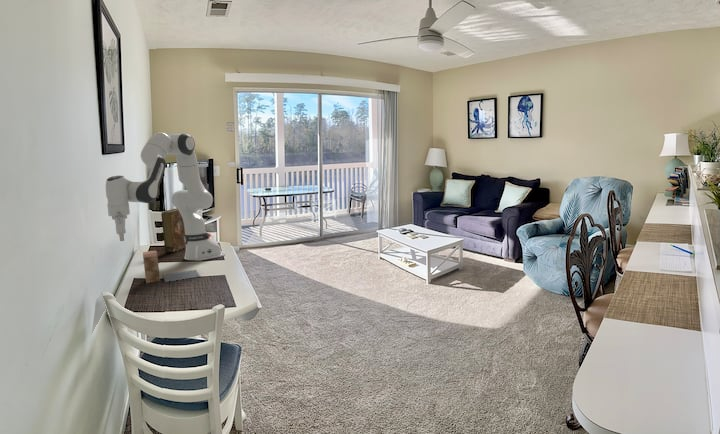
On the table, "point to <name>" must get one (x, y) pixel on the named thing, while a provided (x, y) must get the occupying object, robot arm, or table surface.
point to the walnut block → (151, 266)
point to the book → (173, 230)
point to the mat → (181, 275)
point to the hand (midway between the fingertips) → (122, 240)
